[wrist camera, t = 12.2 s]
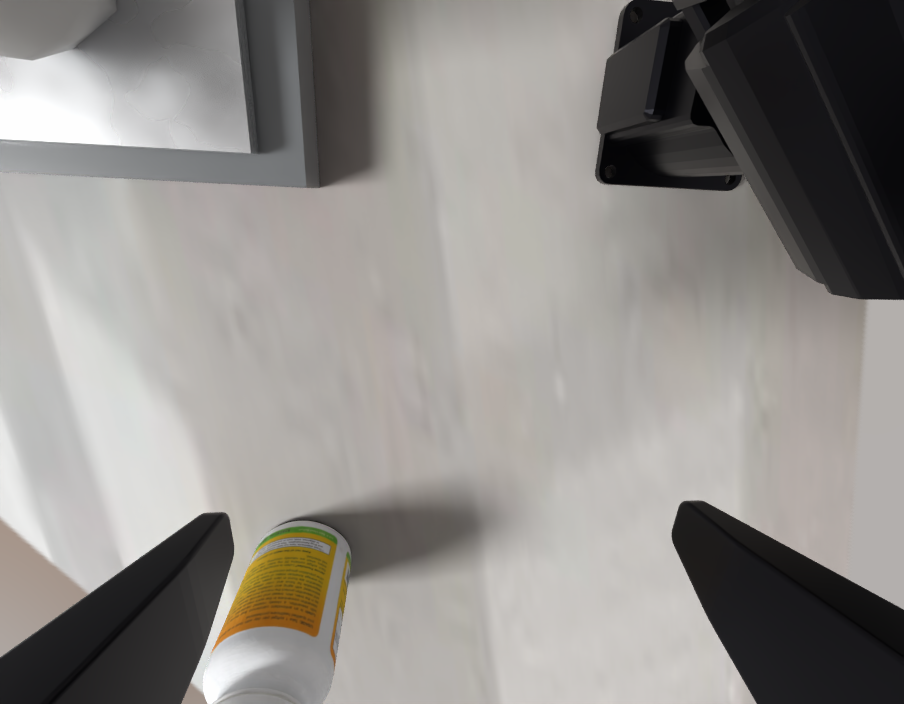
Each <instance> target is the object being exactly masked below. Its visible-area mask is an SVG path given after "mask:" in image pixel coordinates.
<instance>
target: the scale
mask: <svg viewBox="0 0 904 704" xmlns="http://www.w3.org/2000/svg"><path fill="white" fill-rule="evenodd" d="M243 3H244V13H245V23H246V33H247V43H248V52H249V62H250V72H251V82H252V92H253V102H254V112H255V122H256V132H257V141H258V151H259V155H251V154H234V153H217V152H199V151H182V150H165V149H148V148H130V147H113V146H96V145H78V144H61V143H44V142H27V141H9V140H0V172H6V173H26V174H46V175H65V176H85V177H104V178H124V179H144V180H163V181H183V182H202V183H222V184H242V185H261V186H281V187H300V188H320V181H319V163H318V145H317V127H316V110H315V92H314V74H313V57H312V39H311V21H310V4H309V0H243Z"/></svg>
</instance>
